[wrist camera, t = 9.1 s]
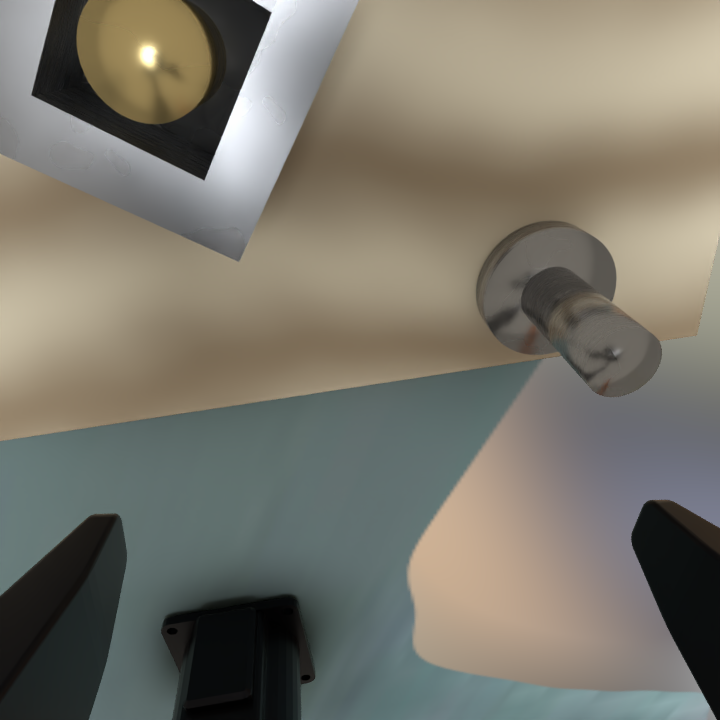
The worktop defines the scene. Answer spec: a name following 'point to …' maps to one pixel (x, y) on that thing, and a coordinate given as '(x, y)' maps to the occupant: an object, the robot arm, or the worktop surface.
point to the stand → (565, 306)
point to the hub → (170, 61)
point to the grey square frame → (151, 143)
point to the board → (382, 216)
